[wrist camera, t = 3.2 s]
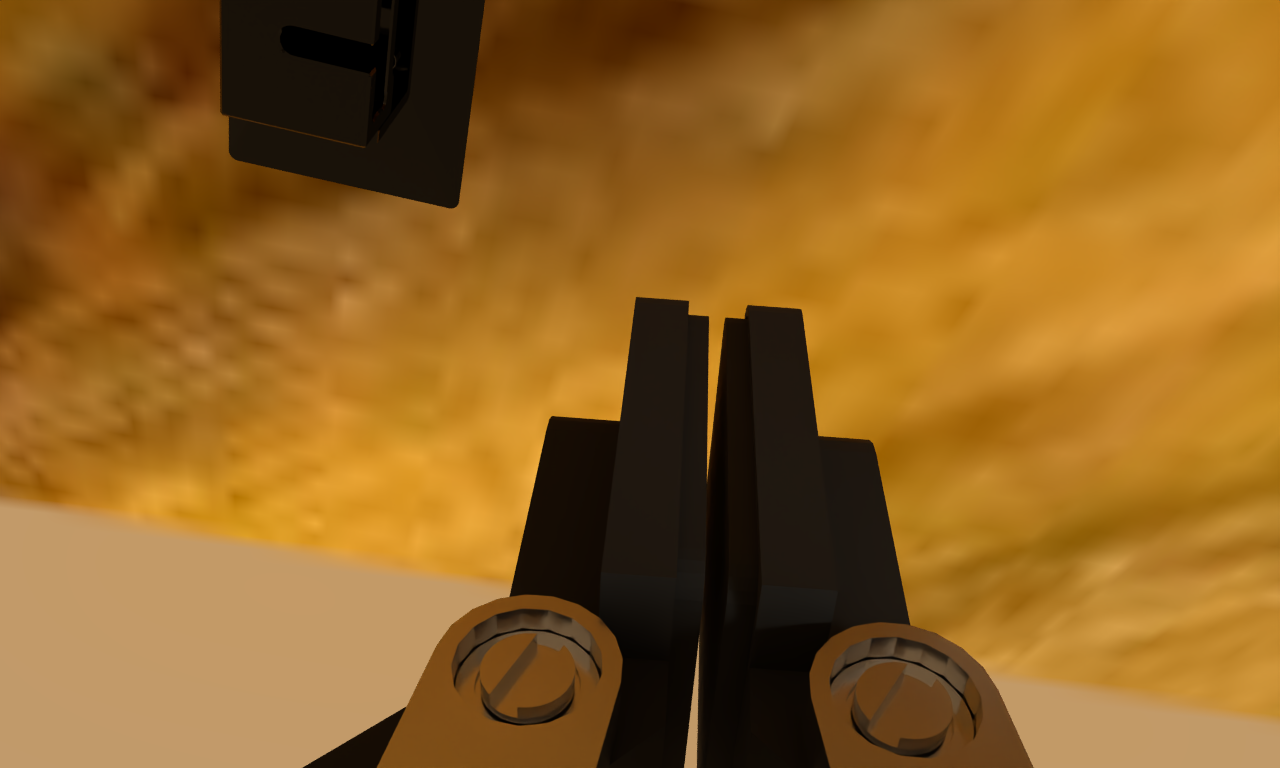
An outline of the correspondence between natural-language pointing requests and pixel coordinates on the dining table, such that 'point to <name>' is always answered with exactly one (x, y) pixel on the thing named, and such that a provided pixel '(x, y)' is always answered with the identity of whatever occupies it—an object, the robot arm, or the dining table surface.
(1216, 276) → the dining table surface
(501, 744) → the robot arm
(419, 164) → the black boxy piece
